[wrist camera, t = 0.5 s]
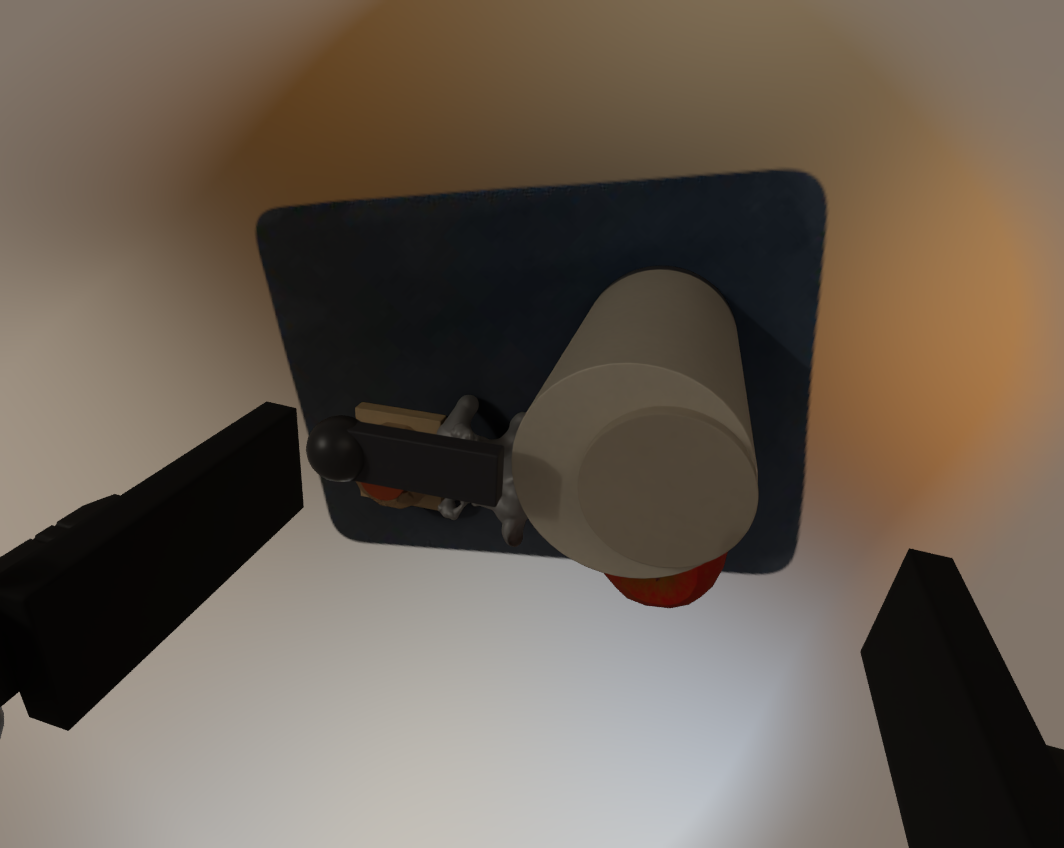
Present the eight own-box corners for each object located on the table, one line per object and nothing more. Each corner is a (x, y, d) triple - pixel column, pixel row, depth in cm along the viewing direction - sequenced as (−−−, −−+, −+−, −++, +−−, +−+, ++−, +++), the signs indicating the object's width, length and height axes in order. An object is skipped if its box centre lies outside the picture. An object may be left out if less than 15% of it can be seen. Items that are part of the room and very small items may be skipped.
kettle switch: (325, 400, 28) (289, 427, 26) (511, 431, 27) (491, 462, 24) (330, 456, 29) (296, 487, 27) (508, 489, 28) (489, 524, 25)
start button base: (362, 401, 51) (343, 416, 48) (446, 415, 49) (431, 431, 47) (367, 488, 54) (350, 507, 52) (446, 503, 53) (432, 523, 50)
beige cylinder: (592, 257, 42) (511, 352, 25) (751, 274, 40) (787, 391, 23) (578, 398, 46) (501, 564, 29) (721, 420, 44) (731, 612, 27)
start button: (368, 444, 49) (357, 454, 48) (412, 452, 48) (403, 463, 47) (370, 485, 51) (360, 496, 49) (413, 493, 50) (404, 504, 48)
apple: (593, 513, 50) (566, 605, 40) (625, 419, 46) (604, 496, 37) (700, 551, 49) (699, 654, 40) (743, 458, 45) (753, 547, 36)
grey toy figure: (436, 390, 49) (393, 433, 42) (594, 385, 46) (574, 430, 39) (457, 497, 52) (420, 552, 46) (604, 499, 49) (588, 558, 42)
